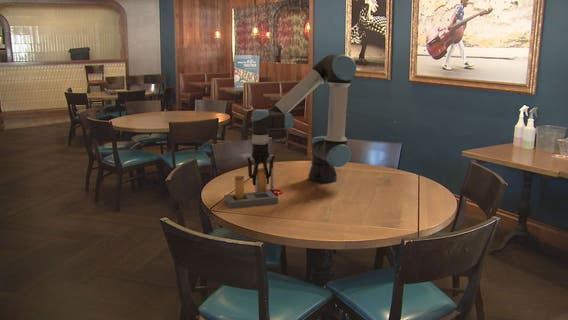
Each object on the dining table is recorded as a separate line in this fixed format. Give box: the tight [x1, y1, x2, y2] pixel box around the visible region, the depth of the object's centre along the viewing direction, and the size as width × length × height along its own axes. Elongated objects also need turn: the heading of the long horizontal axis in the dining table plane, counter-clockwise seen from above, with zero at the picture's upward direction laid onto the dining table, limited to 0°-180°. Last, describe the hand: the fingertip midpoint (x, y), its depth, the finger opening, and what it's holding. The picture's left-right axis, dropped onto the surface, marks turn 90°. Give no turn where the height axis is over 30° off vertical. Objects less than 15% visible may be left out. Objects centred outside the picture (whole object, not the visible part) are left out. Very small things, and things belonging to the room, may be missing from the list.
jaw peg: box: [256, 167, 266, 192], centre depth 232 cm, size 4×4×12 cm
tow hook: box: [267, 167, 284, 197], centre depth 234 cm, size 8×13×9 cm
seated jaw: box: [234, 175, 245, 200], centre depth 218 cm, size 4×4×12 cm
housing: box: [223, 191, 279, 209], centre depth 220 cm, size 22×12×2 cm, turn 108°
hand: (260, 191), depth 233 cm, fingers closed on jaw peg, 4 cm apart
